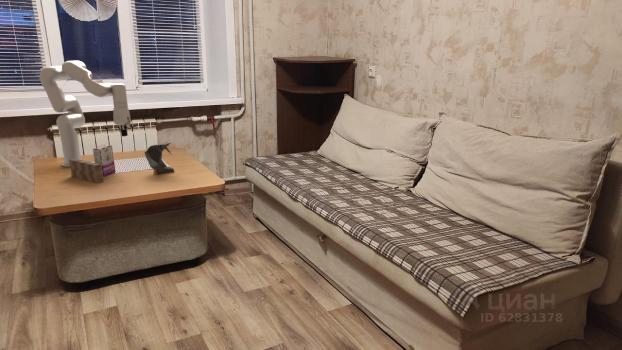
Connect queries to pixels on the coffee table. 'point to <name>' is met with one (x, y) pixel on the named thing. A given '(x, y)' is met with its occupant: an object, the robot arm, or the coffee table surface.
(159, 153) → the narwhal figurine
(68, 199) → the coffee table surface
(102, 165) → the candy bar box
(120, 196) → the coffee table surface
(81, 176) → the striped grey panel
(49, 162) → the coffee table surface
